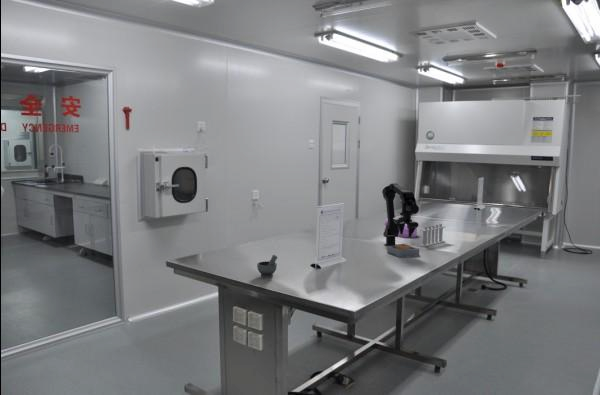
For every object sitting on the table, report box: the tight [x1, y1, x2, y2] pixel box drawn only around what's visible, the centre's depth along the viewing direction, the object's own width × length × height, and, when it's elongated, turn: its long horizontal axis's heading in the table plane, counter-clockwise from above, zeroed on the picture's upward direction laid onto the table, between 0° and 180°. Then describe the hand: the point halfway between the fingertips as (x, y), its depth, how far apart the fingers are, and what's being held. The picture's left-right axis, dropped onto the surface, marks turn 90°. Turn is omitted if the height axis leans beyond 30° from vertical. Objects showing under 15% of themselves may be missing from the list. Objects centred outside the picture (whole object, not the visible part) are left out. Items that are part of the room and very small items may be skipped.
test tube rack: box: [419, 223, 446, 248], centre depth 319 cm, size 25×4×13 cm, turn 131°
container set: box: [384, 218, 418, 238], centre depth 351 cm, size 25×15×13 cm, turn 57°
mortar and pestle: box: [256, 254, 278, 279], centre depth 235 cm, size 11×9×12 cm
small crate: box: [395, 243, 411, 250], centre depth 288 cm, size 6×6×5 cm
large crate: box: [386, 244, 420, 258], centre depth 289 cm, size 14×14×4 cm
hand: (405, 235), depth 292 cm, fingers open, 9 cm apart
